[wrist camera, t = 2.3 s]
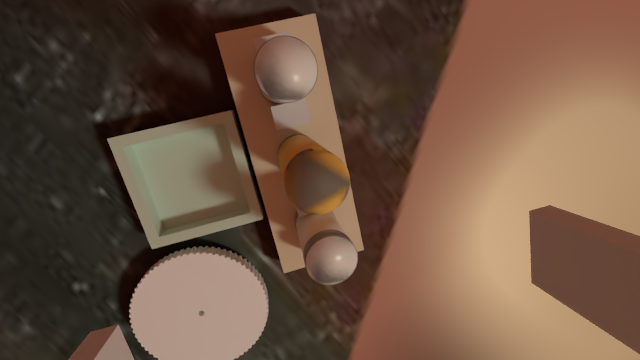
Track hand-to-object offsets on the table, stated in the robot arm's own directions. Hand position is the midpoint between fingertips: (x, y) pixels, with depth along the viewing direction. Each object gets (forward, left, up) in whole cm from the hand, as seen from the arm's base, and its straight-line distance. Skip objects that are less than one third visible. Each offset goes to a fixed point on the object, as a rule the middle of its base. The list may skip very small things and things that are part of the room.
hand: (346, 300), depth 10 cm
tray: (-1, -10, -24) cm, 26 cm away
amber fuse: (-1, +1, -22) cm, 22 cm away
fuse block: (-1, +1, -24) cm, 24 cm away
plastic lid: (+13, -13, -25) cm, 31 cm away
